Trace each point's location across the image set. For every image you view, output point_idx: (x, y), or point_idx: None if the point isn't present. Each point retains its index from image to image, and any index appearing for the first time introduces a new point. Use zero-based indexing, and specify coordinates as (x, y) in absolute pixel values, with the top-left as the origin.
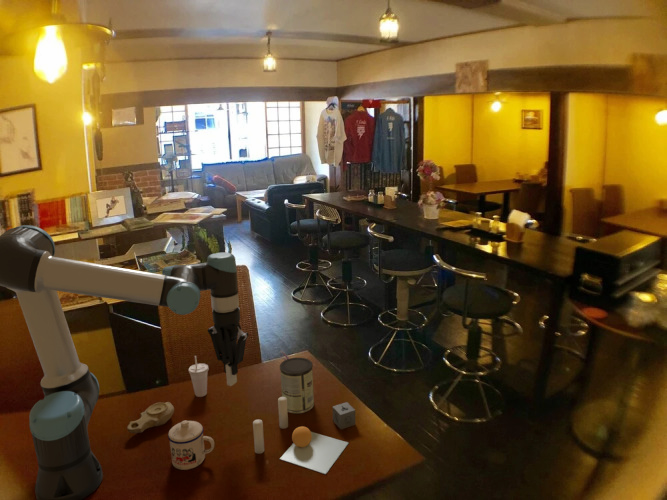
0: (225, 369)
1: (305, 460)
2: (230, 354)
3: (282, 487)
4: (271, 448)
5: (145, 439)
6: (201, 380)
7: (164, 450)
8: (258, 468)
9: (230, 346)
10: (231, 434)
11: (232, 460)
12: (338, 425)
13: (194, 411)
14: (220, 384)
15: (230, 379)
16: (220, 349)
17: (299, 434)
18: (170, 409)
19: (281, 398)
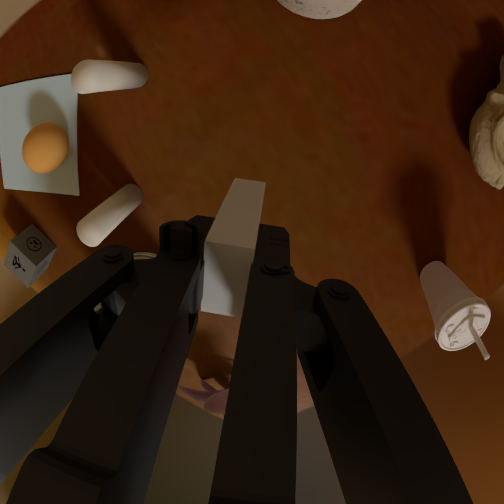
0: (275, 240)
1: (33, 98)
2: (143, 325)
3: (46, 10)
4: (113, 97)
5: (480, 53)
6: (443, 294)
7: (408, 8)
8: (109, 21)
9: (82, 421)
10: (255, 110)
11: (187, 12)
12: (36, 231)
13: (423, 194)
14: (396, 321)
15: (230, 192)
16: (337, 392)
17: (30, 135)
18: (482, 149)
19: (93, 236)
